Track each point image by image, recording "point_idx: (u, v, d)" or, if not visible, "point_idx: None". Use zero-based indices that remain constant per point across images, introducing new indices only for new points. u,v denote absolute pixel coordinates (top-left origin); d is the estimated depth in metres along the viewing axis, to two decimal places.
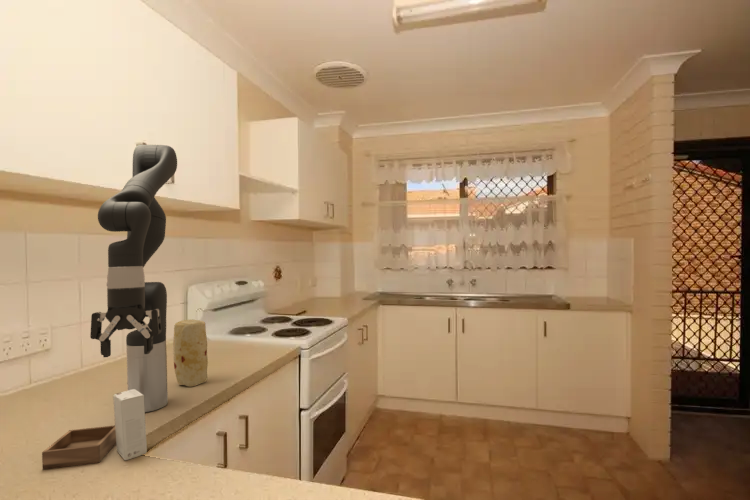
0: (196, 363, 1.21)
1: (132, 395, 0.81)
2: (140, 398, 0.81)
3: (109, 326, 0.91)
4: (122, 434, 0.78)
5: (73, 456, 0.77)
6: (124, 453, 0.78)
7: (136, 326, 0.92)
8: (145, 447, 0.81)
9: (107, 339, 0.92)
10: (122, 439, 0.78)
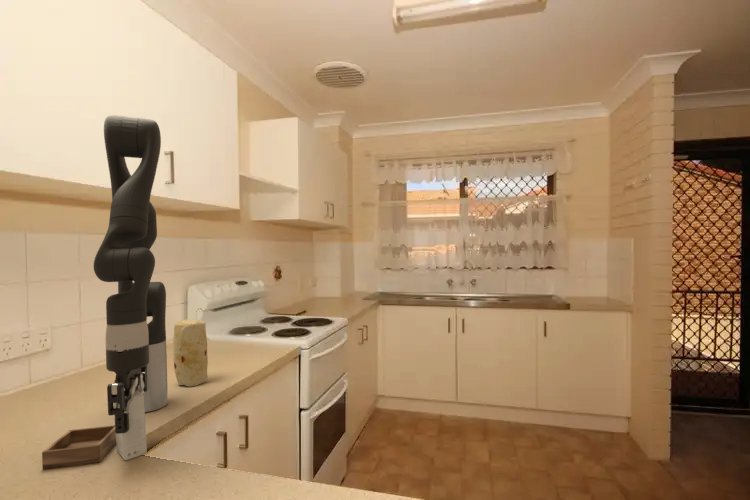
0: (196, 363, 1.21)
1: None
2: (140, 398, 0.81)
3: (132, 392, 0.79)
4: (122, 434, 0.78)
5: (73, 456, 0.77)
6: (124, 453, 0.78)
7: (142, 385, 0.84)
8: (145, 447, 0.81)
9: None
10: (122, 439, 0.78)
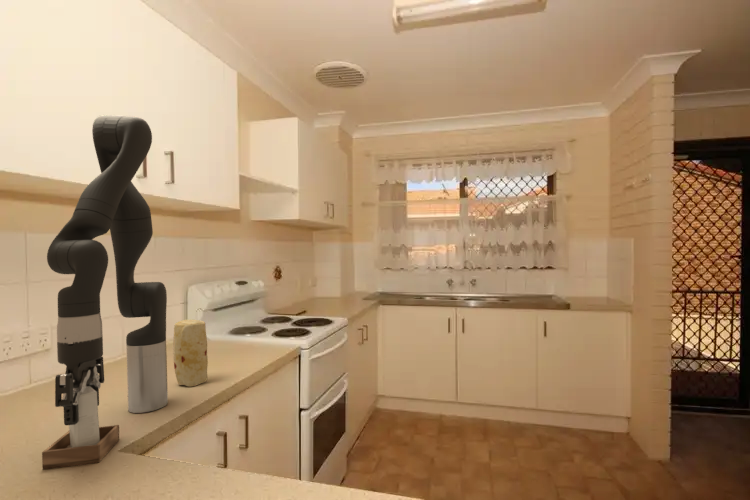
0: (196, 363, 1.21)
1: (85, 392, 0.81)
2: (93, 395, 0.81)
3: (83, 384, 0.79)
4: (74, 431, 0.79)
5: (73, 456, 0.77)
6: None
7: (96, 377, 0.84)
8: None
9: None
10: (74, 436, 0.79)
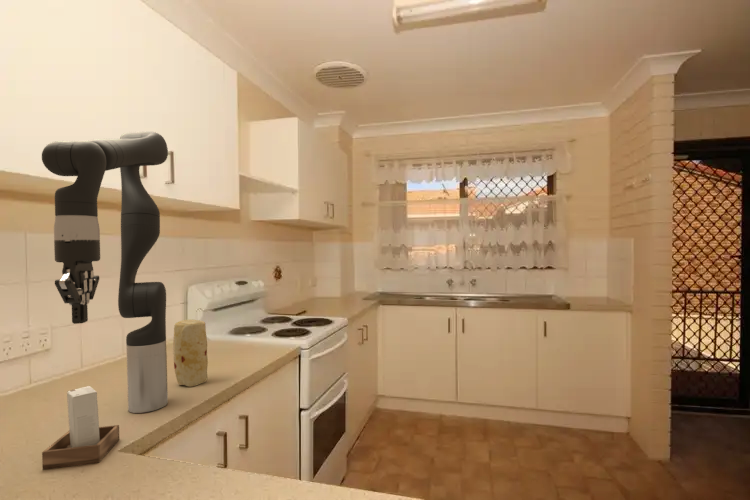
0: (196, 363, 1.21)
1: (85, 391, 0.81)
2: (93, 395, 0.81)
3: (85, 286, 0.80)
4: (74, 431, 0.79)
5: (73, 456, 0.77)
6: None
7: (90, 285, 0.83)
8: None
9: None
10: (74, 436, 0.79)
